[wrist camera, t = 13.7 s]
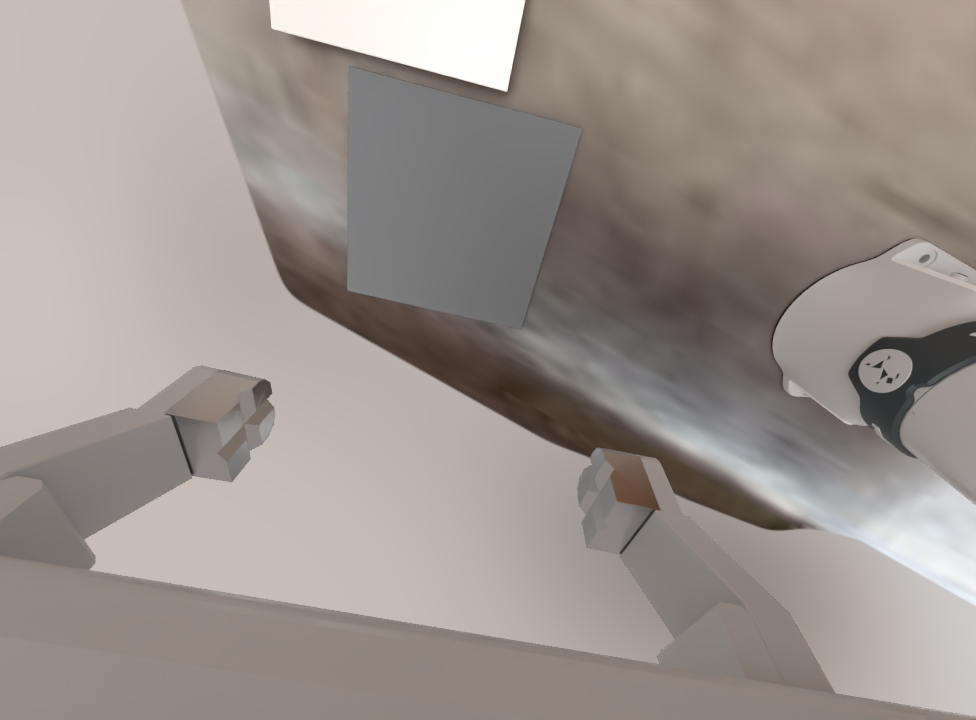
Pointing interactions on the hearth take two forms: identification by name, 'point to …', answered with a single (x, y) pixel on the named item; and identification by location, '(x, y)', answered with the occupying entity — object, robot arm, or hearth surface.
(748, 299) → the hearth surface
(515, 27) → the cover sheet
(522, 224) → the charcoal mat
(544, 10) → the hearth surface
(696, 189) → the hearth surface
